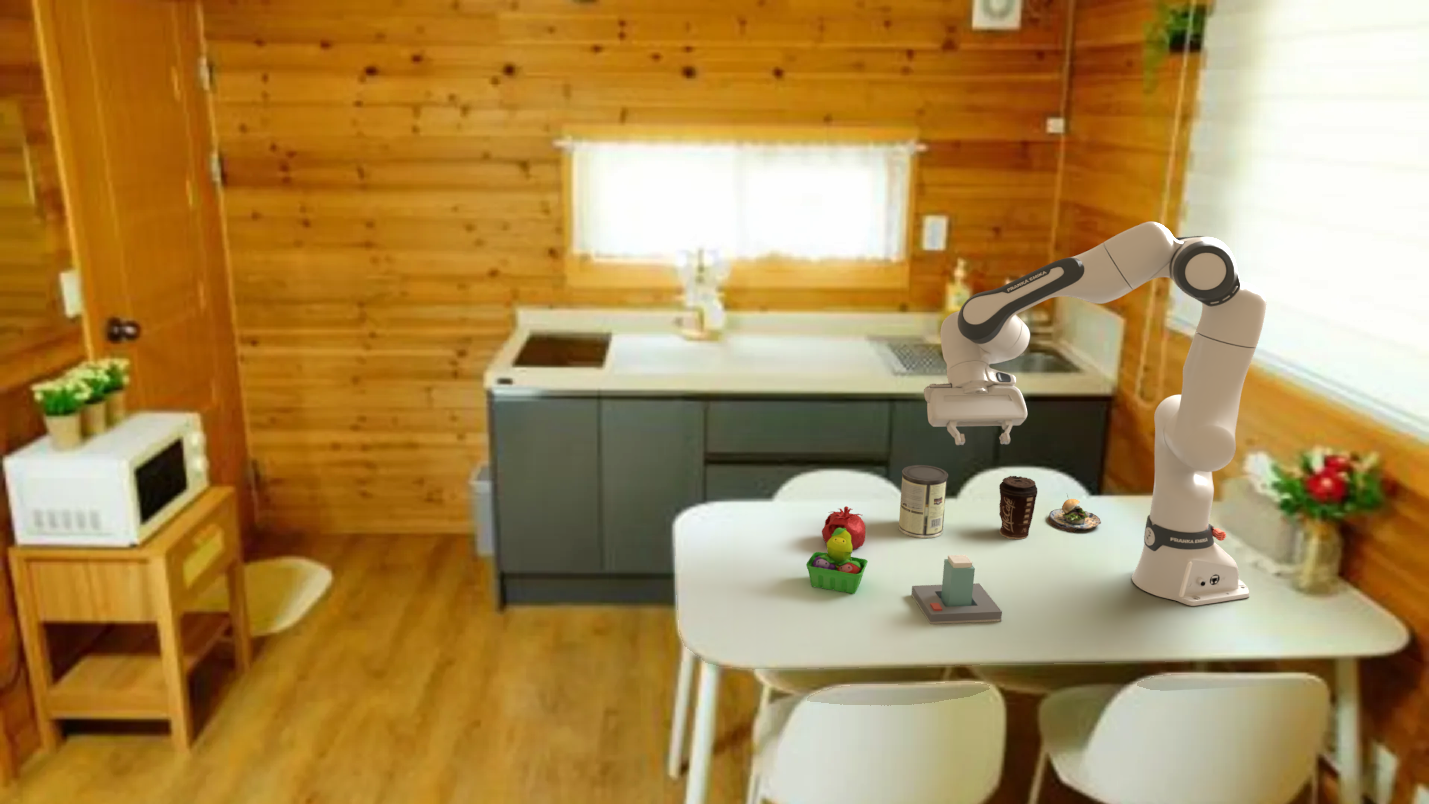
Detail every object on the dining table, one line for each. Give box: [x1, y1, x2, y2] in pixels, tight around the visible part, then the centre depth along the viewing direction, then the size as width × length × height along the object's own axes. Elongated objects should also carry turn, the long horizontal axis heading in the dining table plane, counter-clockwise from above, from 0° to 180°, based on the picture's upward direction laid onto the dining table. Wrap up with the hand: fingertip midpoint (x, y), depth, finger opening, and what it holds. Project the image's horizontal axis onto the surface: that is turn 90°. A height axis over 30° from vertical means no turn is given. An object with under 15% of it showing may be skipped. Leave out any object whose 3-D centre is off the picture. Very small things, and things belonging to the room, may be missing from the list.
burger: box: [1048, 494, 1102, 534], centre depth 246 cm, size 12×12×8 cm
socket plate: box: [911, 582, 1003, 625], centre depth 205 cm, size 14×12×2 cm
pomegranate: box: [821, 506, 866, 551], centre depth 231 cm, size 10×10×9 cm
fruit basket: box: [805, 528, 868, 595], centre depth 212 cm, size 11×9×11 cm
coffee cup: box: [998, 475, 1038, 540], centre depth 239 cm, size 9×8×13 cm
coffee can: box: [898, 464, 949, 539], centre depth 240 cm, size 10×10×14 cm
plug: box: [941, 554, 976, 607], centre depth 203 cm, size 4×4×10 cm
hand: (983, 443), depth 210 cm, fingers open, 8 cm apart
